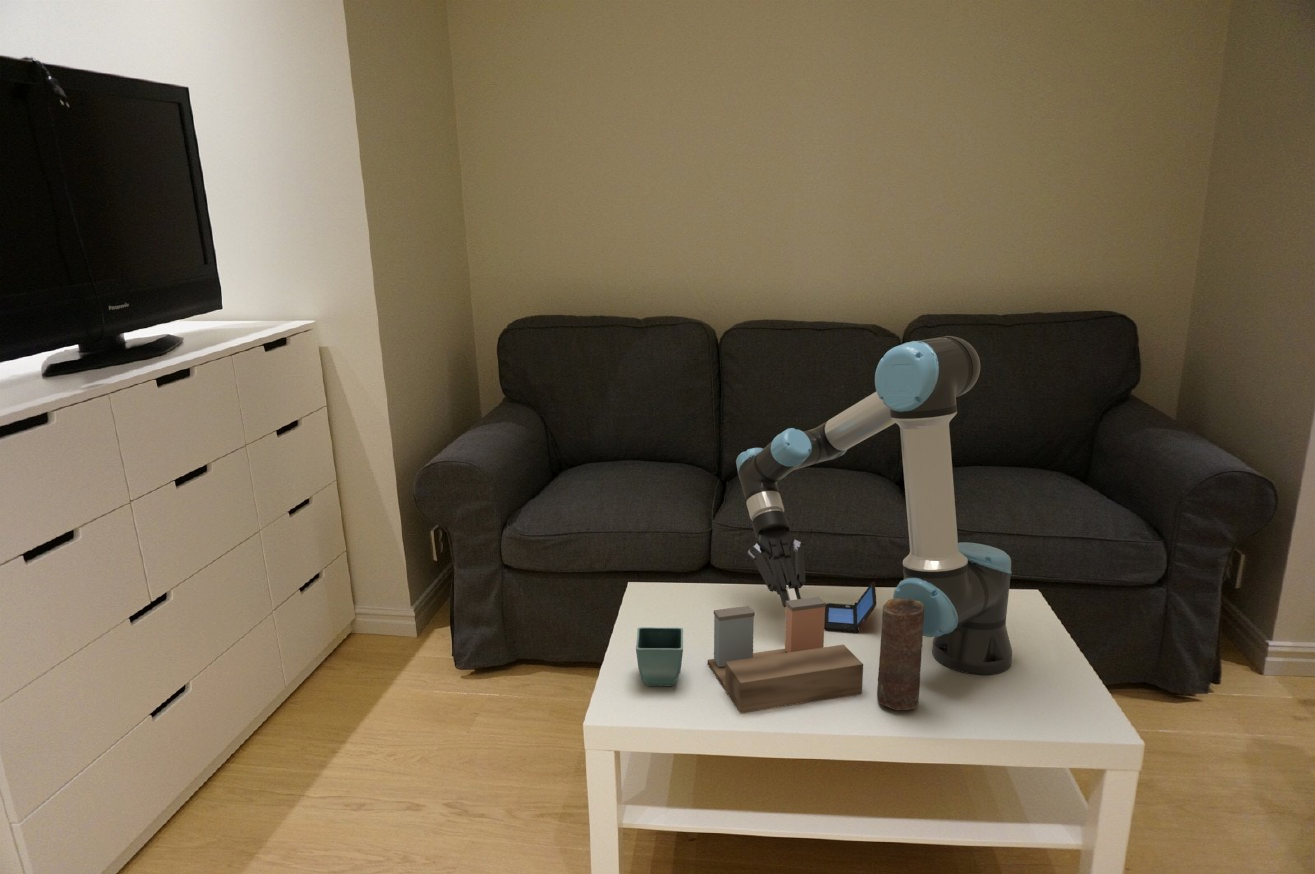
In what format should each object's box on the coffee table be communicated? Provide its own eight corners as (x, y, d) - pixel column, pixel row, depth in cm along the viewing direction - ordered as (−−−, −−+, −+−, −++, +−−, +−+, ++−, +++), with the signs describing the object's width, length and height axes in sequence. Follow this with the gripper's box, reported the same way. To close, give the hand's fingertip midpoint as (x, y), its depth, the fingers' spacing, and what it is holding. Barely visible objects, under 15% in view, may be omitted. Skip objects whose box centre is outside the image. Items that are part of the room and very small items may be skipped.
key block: (707, 664, 182) (707, 636, 180) (819, 648, 188) (820, 621, 186) (740, 713, 164) (740, 683, 163) (861, 693, 170) (863, 664, 169)
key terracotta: (784, 649, 184) (785, 600, 182) (817, 644, 186) (819, 596, 184) (790, 657, 181) (792, 607, 179) (823, 652, 183) (825, 603, 181)
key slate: (713, 659, 181) (713, 610, 178) (747, 654, 182) (748, 605, 180) (718, 667, 178) (719, 617, 175) (753, 662, 179) (754, 612, 177)
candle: (910, 720, 161) (917, 616, 156) (870, 708, 165) (875, 606, 160) (923, 701, 168) (930, 600, 163) (884, 690, 172) (890, 591, 166)
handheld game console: (824, 607, 207) (825, 576, 205) (873, 611, 205) (875, 580, 203) (822, 632, 195) (824, 600, 193) (875, 636, 193) (876, 603, 191)
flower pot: (683, 692, 171) (683, 648, 169) (636, 692, 172) (635, 648, 169) (683, 669, 180) (683, 627, 178) (638, 669, 180) (637, 627, 178)
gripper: (790, 521, 202) (820, 623, 191) (735, 527, 199) (761, 631, 188) (801, 506, 196) (832, 610, 185) (744, 511, 193) (772, 618, 181)
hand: (797, 621), depth 186 cm, fingers closed
